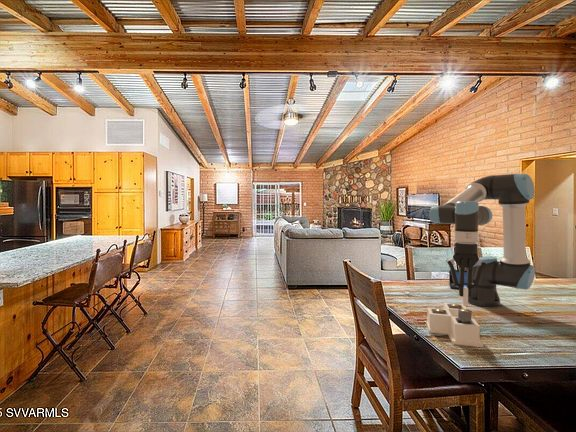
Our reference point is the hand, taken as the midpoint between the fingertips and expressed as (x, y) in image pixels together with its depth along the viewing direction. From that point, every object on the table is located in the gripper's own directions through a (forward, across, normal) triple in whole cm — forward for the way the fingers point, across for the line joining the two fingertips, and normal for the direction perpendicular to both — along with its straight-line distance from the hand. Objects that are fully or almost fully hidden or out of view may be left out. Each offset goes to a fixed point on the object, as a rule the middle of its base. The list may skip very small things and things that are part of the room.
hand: (464, 304), depth 118 cm
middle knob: (+12, -7, +9) cm, 16 cm away
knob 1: (+12, 0, +17) cm, 21 cm away
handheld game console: (+13, +17, +80) cm, 83 cm away
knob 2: (+8, 0, 0) cm, 8 cm away
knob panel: (+13, -3, +9) cm, 16 cm away
